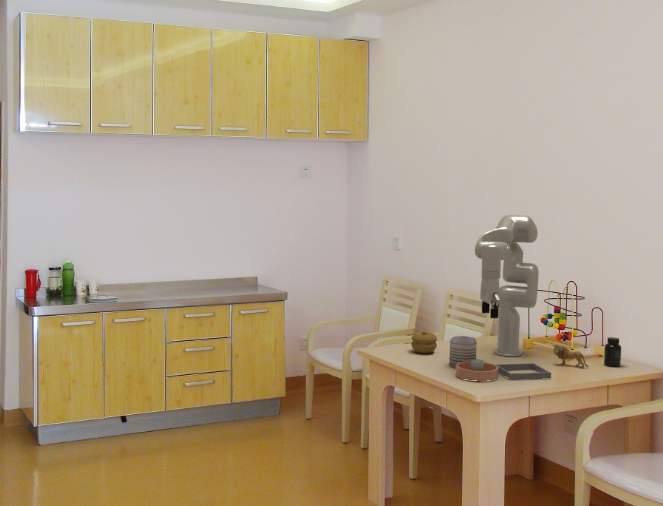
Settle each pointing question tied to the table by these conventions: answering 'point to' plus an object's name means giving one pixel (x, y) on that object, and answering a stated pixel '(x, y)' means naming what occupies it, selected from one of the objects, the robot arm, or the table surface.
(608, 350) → the supplement bottle
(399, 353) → the table surface
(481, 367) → the grey cylinder
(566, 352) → the lion figurine
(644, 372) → the table surface
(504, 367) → the tray
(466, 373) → the bowl
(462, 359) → the can
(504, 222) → the robot arm
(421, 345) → the pot
